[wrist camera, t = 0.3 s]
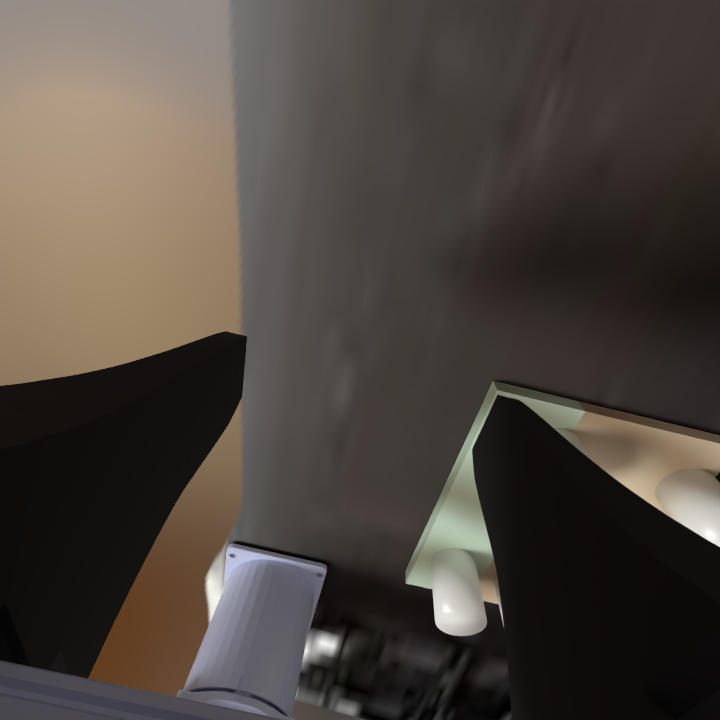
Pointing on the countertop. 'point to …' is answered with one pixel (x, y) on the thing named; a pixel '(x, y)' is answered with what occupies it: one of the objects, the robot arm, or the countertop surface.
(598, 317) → the countertop surface
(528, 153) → the countertop surface
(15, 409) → the robot arm
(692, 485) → the spacers
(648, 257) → the countertop surface
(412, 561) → the board
